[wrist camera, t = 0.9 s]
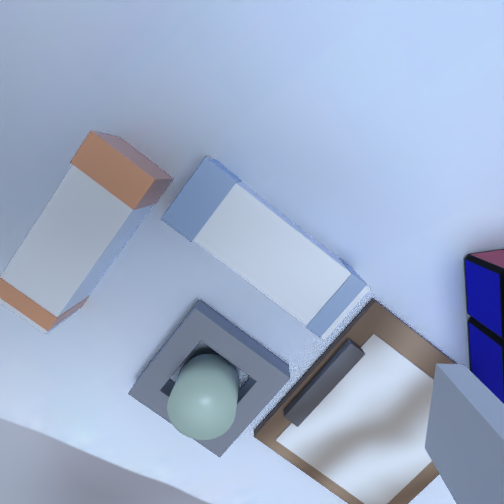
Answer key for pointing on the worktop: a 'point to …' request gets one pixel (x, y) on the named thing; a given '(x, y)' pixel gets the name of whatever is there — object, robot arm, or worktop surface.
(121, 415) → the worktop surface
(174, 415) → the button
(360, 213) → the worktop surface
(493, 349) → the puzzle cube
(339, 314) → the blue-capped white block
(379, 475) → the clipboard
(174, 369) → the button base
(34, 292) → the orange-capped white block
